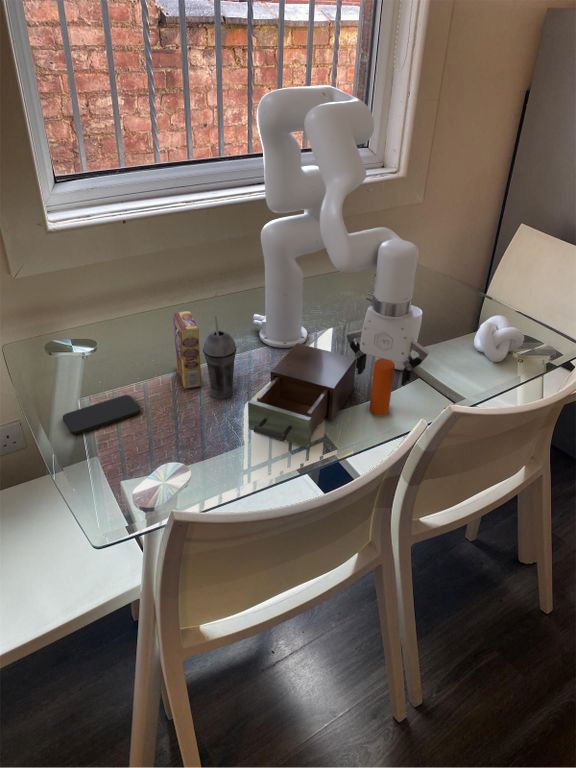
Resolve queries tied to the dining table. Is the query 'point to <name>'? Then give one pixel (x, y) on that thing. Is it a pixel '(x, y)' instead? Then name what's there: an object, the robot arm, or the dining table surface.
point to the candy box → (187, 349)
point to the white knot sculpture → (497, 338)
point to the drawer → (288, 411)
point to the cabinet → (319, 373)
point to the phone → (100, 414)
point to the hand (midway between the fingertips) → (382, 376)
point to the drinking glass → (417, 325)
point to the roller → (381, 387)
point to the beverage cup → (220, 362)
